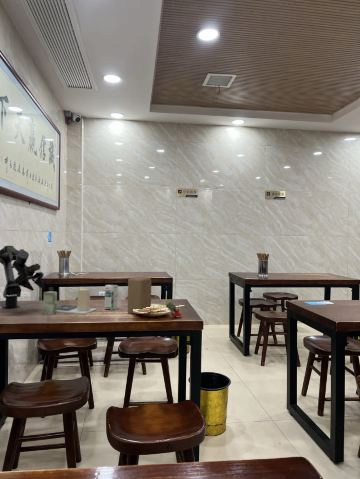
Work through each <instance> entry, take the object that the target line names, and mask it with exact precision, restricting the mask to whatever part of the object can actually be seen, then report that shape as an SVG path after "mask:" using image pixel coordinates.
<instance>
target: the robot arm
mask: <svg viewBox="0 0 360 479" xmlns="http://www.w3.org/2000/svg"><path fill="white" fill-rule="evenodd" d="M29 256H30V254H29V253H28V251H26V250H25V249H24V248H23V249H22V248H21V249H19V250H18V249H16V248H15V247H14V245H4V246H3V248H1V249H0V264H1V265H2V266H3V270H4V275H5V280H6V284H5V288H4V289H3V290H4V291H3V293H2V297H3V298H4V299H5V302H4V303H5V304H4V306H3V309H14V308H19V307H20V305H18V298H20V297H21V294H22V287H23V288H25V289H28V290H29V291H34V290H35V289H34V287H33V286H32V284H31V283H30V281H29V280H31V281H32V282H33V283H34V284H36V285H37V286H38V287H39V288H41V289H43V290H44V288H45V286H44V283H43V277H44V275H45V274H44V273H43V271H40V270H41V265H40V263H34V264H32V265H29V266H28V265H27V261H28V259H29ZM13 261H14V262H13ZM13 269H15V270H16V272H17V275H18V276H17V277H15V274H14V270H13ZM36 271H38V272H36ZM39 271H40V272H39Z"/></svg>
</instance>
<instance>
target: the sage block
mask: <svg viewBox="0 0 360 479" xmlns="http://www.w3.org/2000/svg"><path fill="white" fill-rule="evenodd" d="M57 300H58V292H57V291H44V292H43V306H42V307H43V309H42V314H43V315H45V316H46V315H49V316H50V315H55V314H57V313H58V312H57V306H58V304H57V303H58V302H57Z"/></svg>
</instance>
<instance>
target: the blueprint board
mask: <svg viewBox="0 0 360 479" xmlns="http://www.w3.org/2000/svg"><path fill="white" fill-rule="evenodd" d="M90 306H91V289H90V288H80V289H77V305H73V304H71V305H70V304H60V305H57V313H64V314H65V313H66V314H76V315H77V314H79V315H80V314H81V315H88V314H89V312H90V313H92V311H93V312H95V311H98V308H94V307H93V308H92V307H90ZM94 310H95V311H94Z"/></svg>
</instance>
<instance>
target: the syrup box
mask: <svg viewBox="0 0 360 479" xmlns="http://www.w3.org/2000/svg"><path fill="white" fill-rule="evenodd" d="M118 293H119V285H117V284H106V285H105V286H104V310H105V309H110V310H109V311H114V310H113V309H115V310H117V309H118V297H119V296H118V295H119V294H118ZM116 308H117V309H116Z"/></svg>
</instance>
